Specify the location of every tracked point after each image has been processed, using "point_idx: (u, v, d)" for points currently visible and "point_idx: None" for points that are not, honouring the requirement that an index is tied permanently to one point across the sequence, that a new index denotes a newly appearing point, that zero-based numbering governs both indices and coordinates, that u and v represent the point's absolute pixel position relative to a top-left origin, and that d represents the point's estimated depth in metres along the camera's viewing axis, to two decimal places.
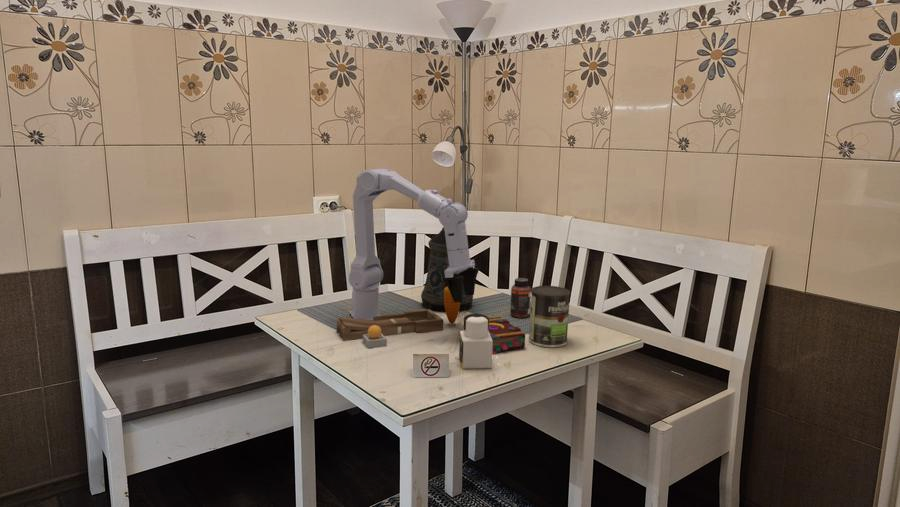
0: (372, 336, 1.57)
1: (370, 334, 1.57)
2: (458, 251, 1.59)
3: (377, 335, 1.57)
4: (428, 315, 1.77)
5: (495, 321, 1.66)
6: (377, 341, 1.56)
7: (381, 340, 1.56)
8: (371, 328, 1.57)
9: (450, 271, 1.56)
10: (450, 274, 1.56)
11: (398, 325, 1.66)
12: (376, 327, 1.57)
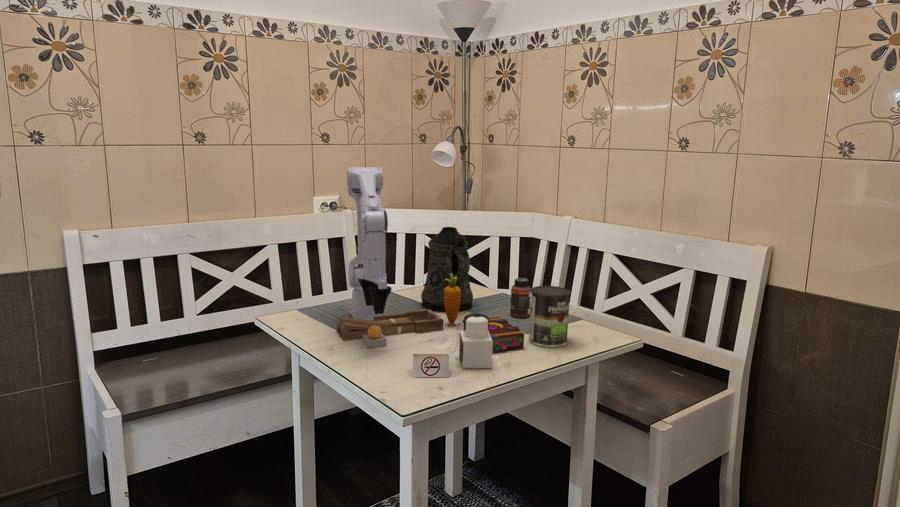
0: (372, 336, 1.57)
1: (370, 334, 1.57)
2: None
3: (377, 335, 1.57)
4: (428, 315, 1.77)
5: (494, 321, 1.66)
6: (377, 341, 1.56)
7: (381, 340, 1.56)
8: (371, 328, 1.57)
9: None
10: None
11: (398, 325, 1.66)
12: (376, 327, 1.57)
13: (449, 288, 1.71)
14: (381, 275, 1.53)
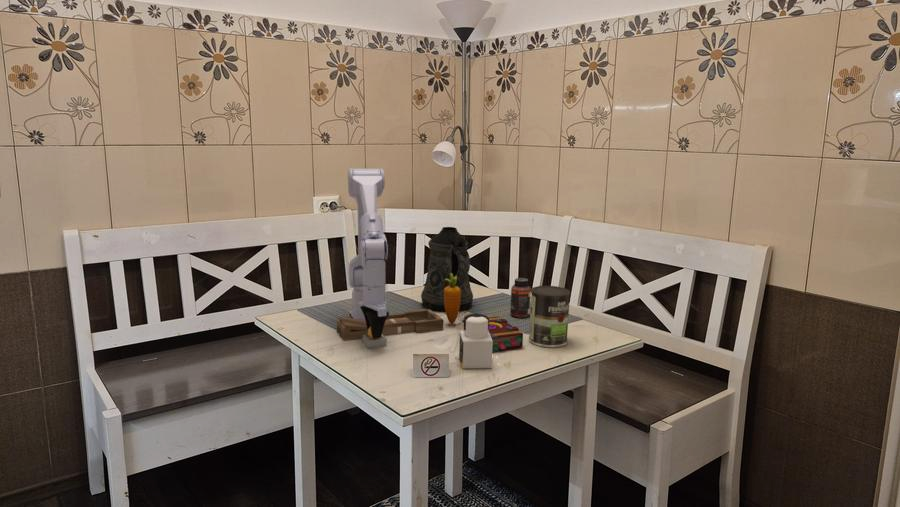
0: None
1: (370, 334, 1.57)
2: None
3: None
4: (428, 315, 1.77)
5: (493, 320, 1.66)
6: (377, 341, 1.56)
7: (381, 340, 1.56)
8: None
9: None
10: None
11: (398, 325, 1.66)
12: None
13: (449, 288, 1.71)
14: (381, 302, 1.54)
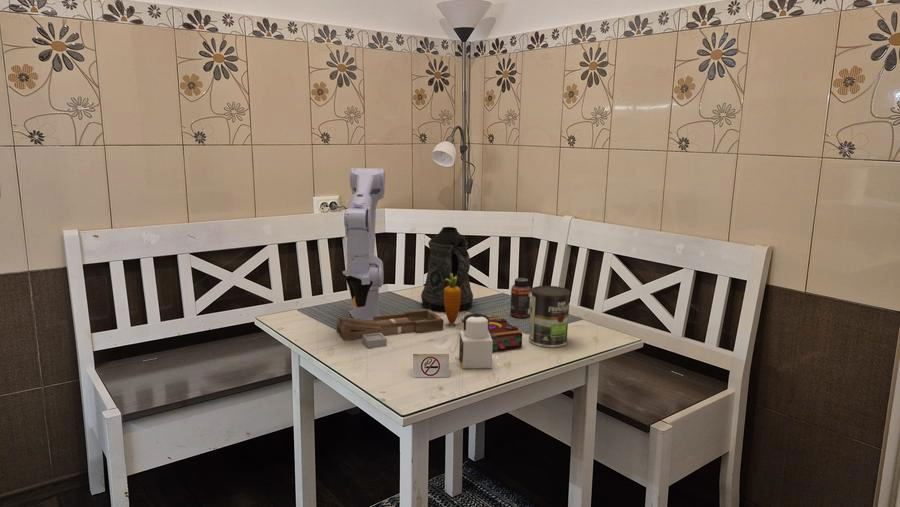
0: (356, 306, 1.60)
1: (354, 303, 1.59)
2: None
3: None
4: (428, 315, 1.77)
5: (493, 320, 1.67)
6: (377, 341, 1.56)
7: (381, 340, 1.56)
8: None
9: None
10: None
11: (398, 325, 1.66)
12: None
13: (449, 288, 1.71)
14: (365, 271, 1.57)
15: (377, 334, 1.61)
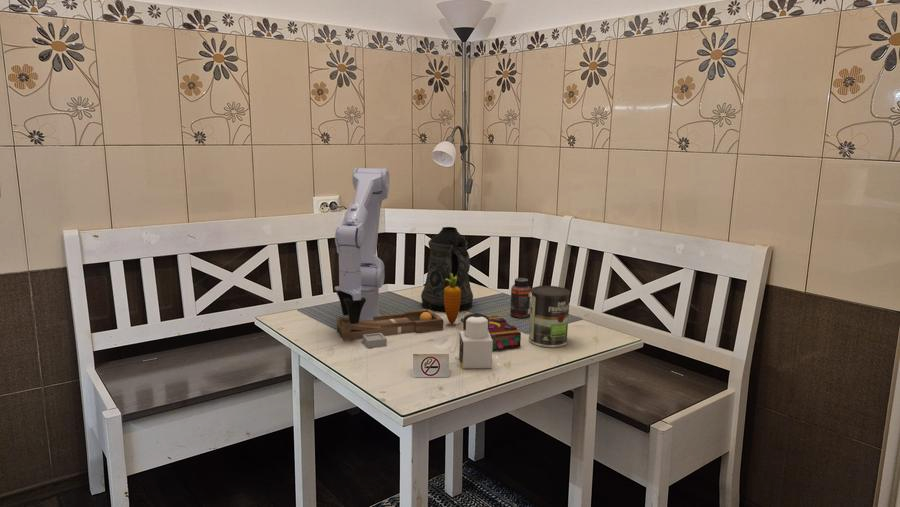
0: None
1: (422, 318, 1.72)
2: None
3: None
4: None
5: (492, 320, 1.67)
6: (377, 341, 1.56)
7: (381, 340, 1.56)
8: (424, 313, 1.73)
9: None
10: None
11: (398, 325, 1.66)
12: (429, 313, 1.73)
13: (449, 288, 1.71)
14: (356, 287, 1.60)
15: (377, 334, 1.61)
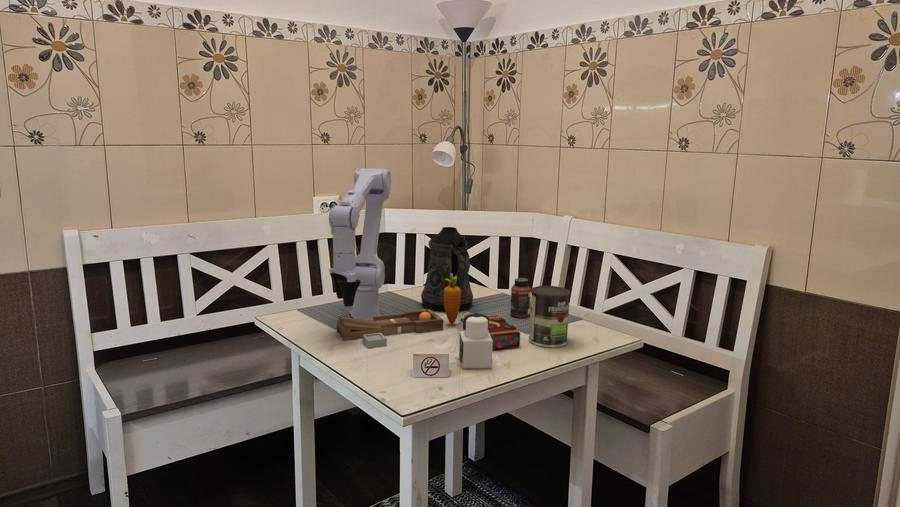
0: (422, 320, 1.72)
1: (421, 318, 1.72)
2: None
3: None
4: None
5: (492, 319, 1.67)
6: (377, 341, 1.56)
7: (381, 340, 1.56)
8: (423, 313, 1.73)
9: None
10: None
11: (398, 325, 1.66)
12: (427, 313, 1.73)
13: (449, 288, 1.71)
14: (351, 269, 1.57)
15: (377, 334, 1.61)
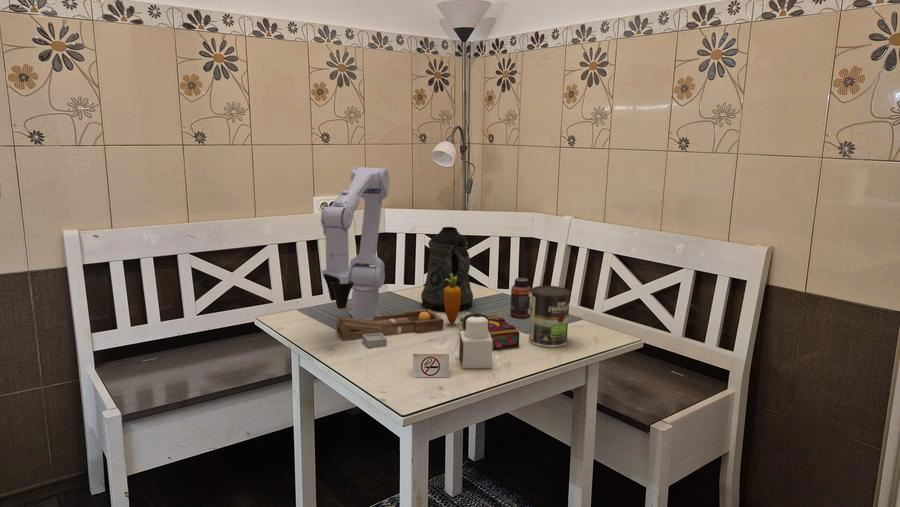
0: (421, 320, 1.72)
1: (420, 317, 1.73)
2: None
3: (426, 319, 1.73)
4: None
5: (491, 319, 1.67)
6: (377, 341, 1.56)
7: (381, 340, 1.56)
8: (421, 312, 1.73)
9: None
10: None
11: (398, 325, 1.66)
12: (426, 312, 1.74)
13: (449, 288, 1.71)
14: (344, 270, 1.55)
15: (377, 334, 1.61)
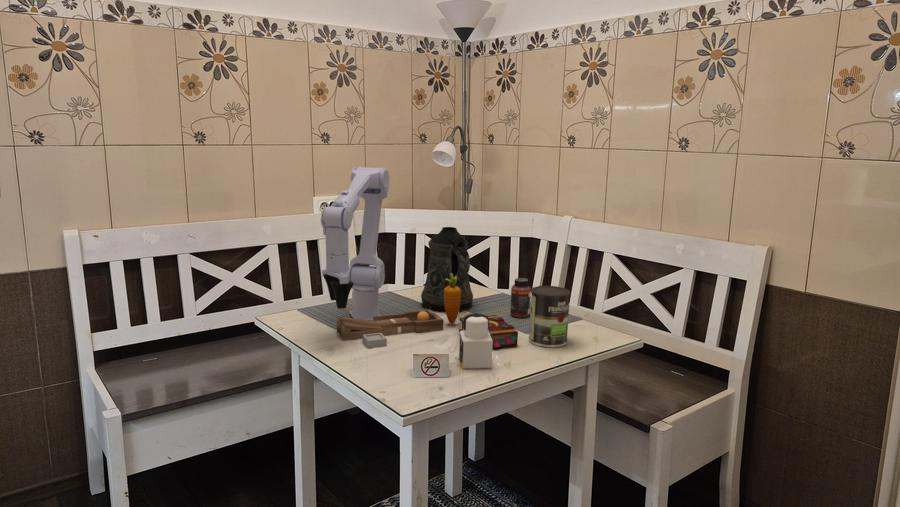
0: (420, 319, 1.73)
1: (419, 317, 1.73)
2: None
3: (425, 317, 1.73)
4: None
5: (490, 319, 1.68)
6: (377, 341, 1.56)
7: (381, 340, 1.56)
8: (419, 312, 1.74)
9: None
10: None
11: (398, 325, 1.66)
12: (424, 311, 1.74)
13: (449, 288, 1.71)
14: (344, 270, 1.55)
15: (377, 334, 1.61)
